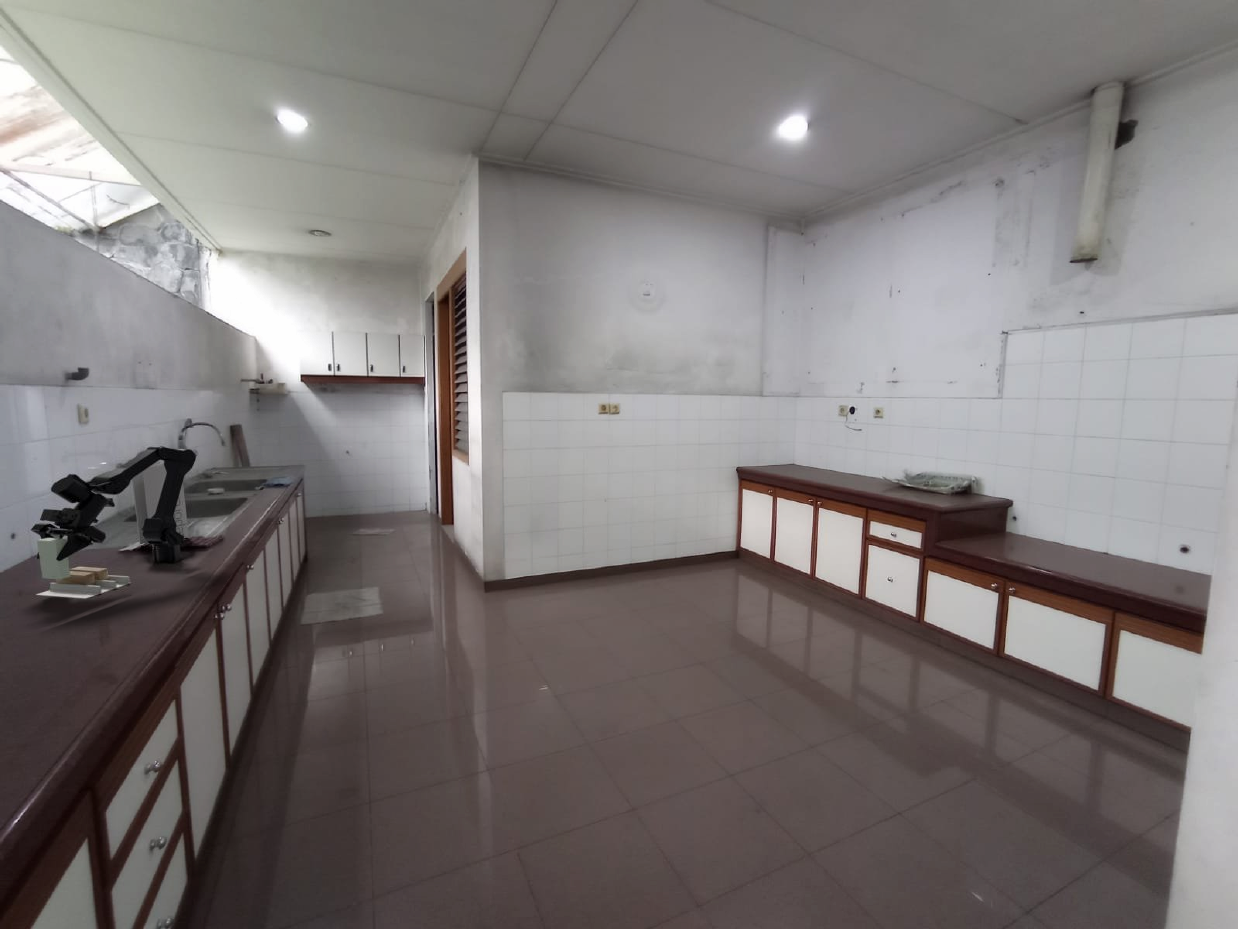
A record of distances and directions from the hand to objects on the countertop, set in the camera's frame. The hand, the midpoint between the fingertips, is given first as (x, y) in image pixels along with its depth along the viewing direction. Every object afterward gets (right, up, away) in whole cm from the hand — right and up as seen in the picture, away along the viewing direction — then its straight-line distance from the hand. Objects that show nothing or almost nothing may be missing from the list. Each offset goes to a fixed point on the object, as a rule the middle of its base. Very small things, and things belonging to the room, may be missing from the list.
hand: (48, 559), depth 155 cm
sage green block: (0, -5, +2) cm, 6 cm away
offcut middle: (+1, -10, +7) cm, 12 cm away
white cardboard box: (-14, -4, +57) cm, 59 cm away
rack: (+3, -11, +7) cm, 13 cm away
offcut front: (+1, -9, +11) cm, 14 cm away
